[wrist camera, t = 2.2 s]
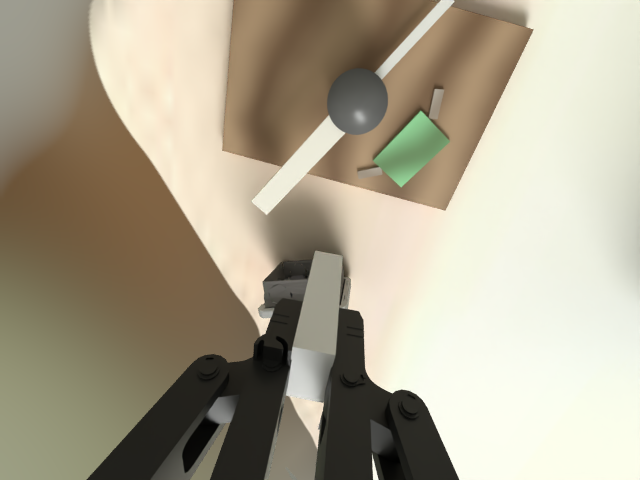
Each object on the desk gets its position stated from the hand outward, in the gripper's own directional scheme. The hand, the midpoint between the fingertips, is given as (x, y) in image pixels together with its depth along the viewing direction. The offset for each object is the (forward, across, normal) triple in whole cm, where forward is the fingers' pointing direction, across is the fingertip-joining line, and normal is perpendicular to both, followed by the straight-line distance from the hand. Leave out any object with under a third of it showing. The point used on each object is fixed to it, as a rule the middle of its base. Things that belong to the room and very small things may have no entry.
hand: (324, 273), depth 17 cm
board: (+18, 0, -8) cm, 20 cm away
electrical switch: (+18, +2, +12) cm, 22 cm away
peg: (+16, +1, -7) cm, 18 cm away
